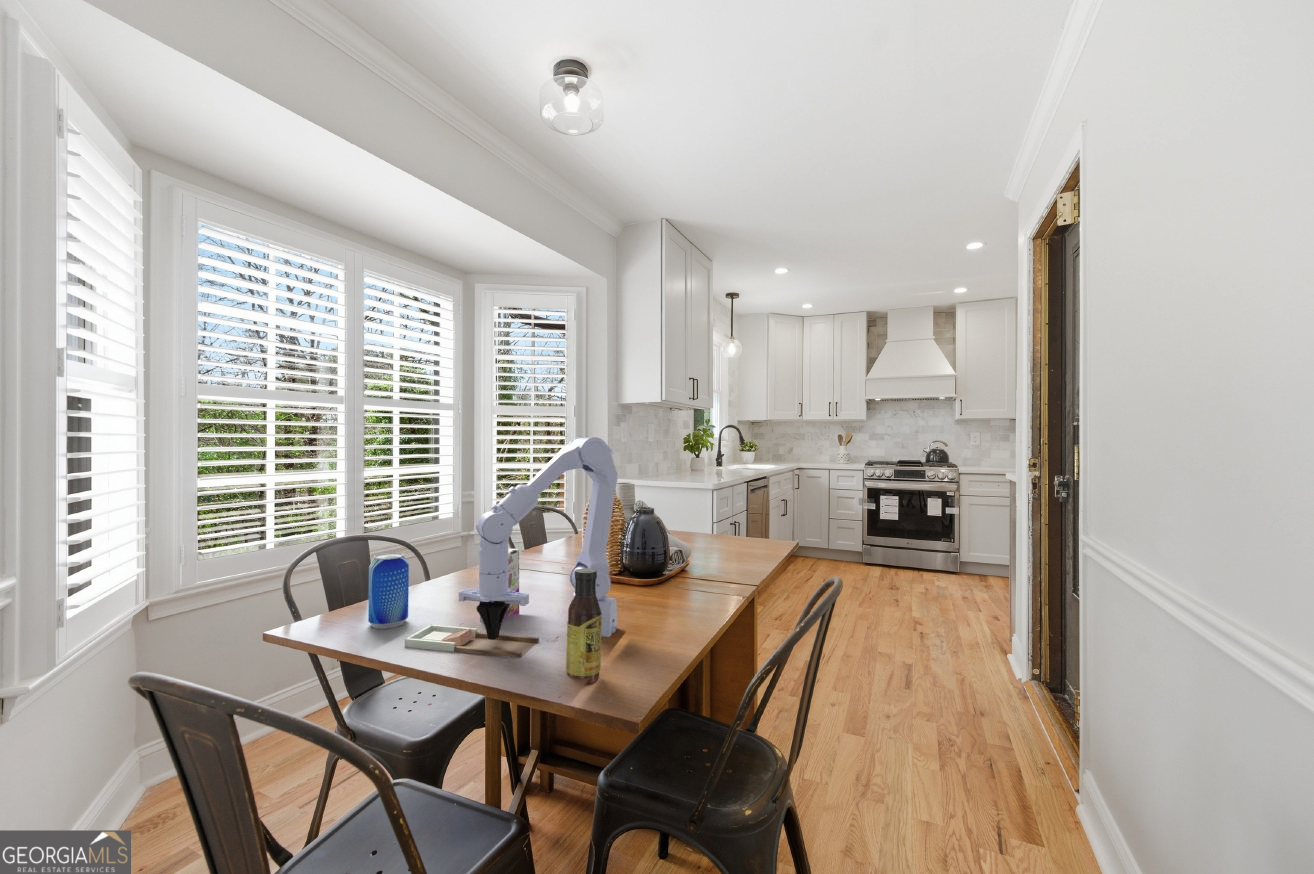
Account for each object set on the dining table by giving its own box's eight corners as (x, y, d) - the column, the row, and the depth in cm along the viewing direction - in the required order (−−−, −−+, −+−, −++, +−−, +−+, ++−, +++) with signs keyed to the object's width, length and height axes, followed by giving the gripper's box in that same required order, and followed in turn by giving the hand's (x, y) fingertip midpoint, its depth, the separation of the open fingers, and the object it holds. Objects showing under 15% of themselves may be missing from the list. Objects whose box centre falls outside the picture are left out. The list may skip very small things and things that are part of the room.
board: (538, 648, 118) (538, 637, 118) (519, 665, 109) (519, 653, 109) (477, 642, 121) (477, 631, 121) (453, 658, 112) (453, 647, 112)
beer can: (373, 632, 126) (374, 560, 126) (364, 622, 133) (365, 554, 133) (412, 625, 132) (413, 556, 132) (402, 615, 138) (403, 550, 138)
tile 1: (452, 642, 120) (452, 632, 120) (440, 650, 116) (440, 640, 116) (433, 640, 121) (433, 631, 121) (420, 648, 116) (420, 638, 116)
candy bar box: (501, 613, 141) (501, 547, 141) (519, 614, 140) (520, 548, 140) (478, 628, 130) (479, 556, 130) (498, 629, 129) (499, 557, 129)
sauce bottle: (590, 689, 99) (591, 576, 99) (559, 683, 102) (560, 572, 102) (607, 675, 105) (608, 568, 105) (577, 669, 108) (578, 565, 108)
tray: (477, 642, 121) (477, 628, 121) (453, 658, 112) (454, 643, 112) (430, 638, 123) (431, 624, 123) (404, 653, 114) (404, 638, 114)
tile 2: (473, 637, 119) (471, 628, 119) (462, 645, 114) (459, 635, 114) (455, 642, 120) (452, 633, 120) (443, 650, 115) (440, 641, 115)
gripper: (450, 573, 113) (450, 641, 113) (518, 578, 110) (517, 648, 110) (469, 565, 120) (468, 630, 120) (533, 569, 117) (533, 635, 117)
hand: (493, 637), depth 115 cm, fingers closed
